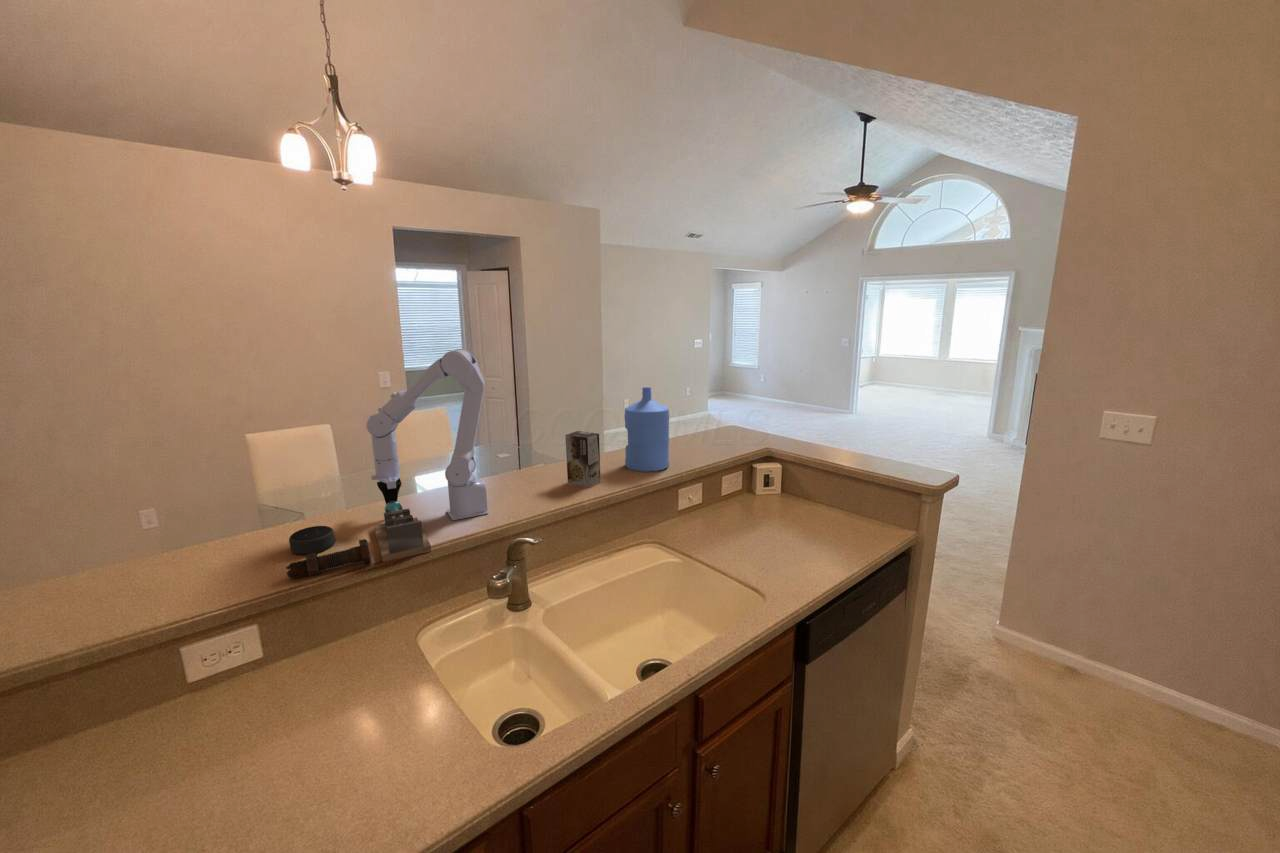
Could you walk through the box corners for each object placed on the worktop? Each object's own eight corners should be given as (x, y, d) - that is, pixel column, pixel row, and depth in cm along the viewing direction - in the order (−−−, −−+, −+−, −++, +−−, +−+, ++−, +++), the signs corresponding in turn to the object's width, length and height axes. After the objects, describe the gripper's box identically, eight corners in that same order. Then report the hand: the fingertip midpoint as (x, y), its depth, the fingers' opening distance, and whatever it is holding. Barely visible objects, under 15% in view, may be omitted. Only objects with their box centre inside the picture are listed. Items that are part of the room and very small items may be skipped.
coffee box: (601, 482, 167) (600, 433, 164) (589, 487, 162) (587, 437, 159) (579, 477, 172) (577, 430, 169) (566, 483, 167) (564, 434, 164)
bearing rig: (374, 530, 130) (371, 502, 129) (417, 522, 135) (414, 495, 134) (382, 562, 114) (379, 529, 112) (431, 551, 119) (428, 520, 117)
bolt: (290, 586, 107) (371, 566, 115) (287, 584, 103) (371, 563, 111) (286, 559, 109) (366, 540, 116) (283, 556, 105) (366, 536, 112)
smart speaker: (281, 555, 118) (278, 539, 117) (310, 539, 126) (308, 523, 125) (316, 557, 116) (314, 541, 116) (344, 541, 125) (342, 525, 124)
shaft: (385, 517, 134) (383, 502, 133) (402, 514, 136) (400, 499, 135) (392, 537, 121) (390, 521, 120) (411, 534, 123) (409, 518, 122)
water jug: (678, 465, 185) (678, 387, 179) (648, 475, 174) (647, 392, 168) (646, 458, 196) (645, 383, 190) (616, 466, 185) (614, 388, 179)
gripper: (367, 454, 140) (372, 502, 143) (371, 466, 128) (377, 519, 130) (395, 450, 143) (400, 497, 146) (402, 462, 131) (408, 513, 134)
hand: (391, 507), depth 138 cm, fingers closed
